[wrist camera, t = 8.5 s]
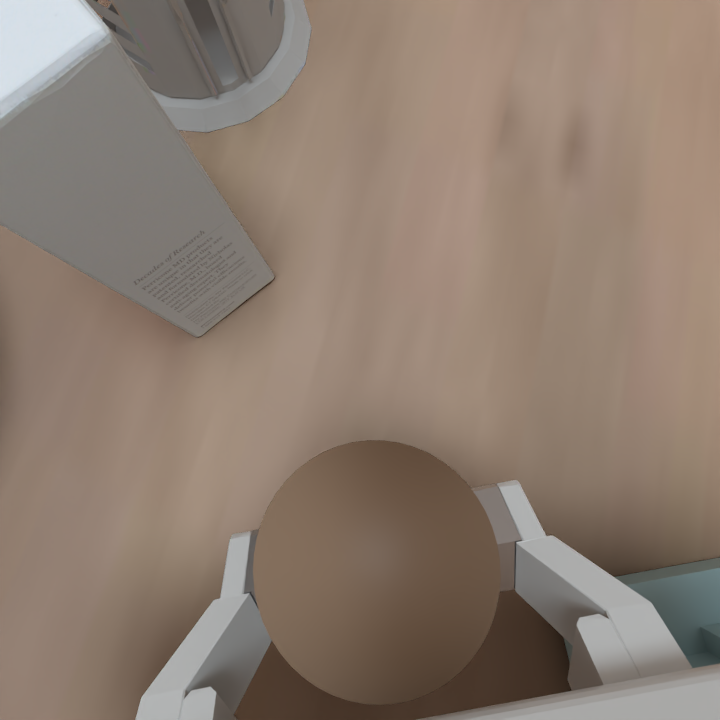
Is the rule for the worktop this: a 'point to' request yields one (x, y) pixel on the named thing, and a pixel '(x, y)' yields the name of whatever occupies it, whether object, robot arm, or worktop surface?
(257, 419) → the worktop surface
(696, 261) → the worktop surface
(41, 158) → the skincare box
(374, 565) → the brown cylinder
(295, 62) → the french press
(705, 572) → the holder
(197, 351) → the worktop surface
